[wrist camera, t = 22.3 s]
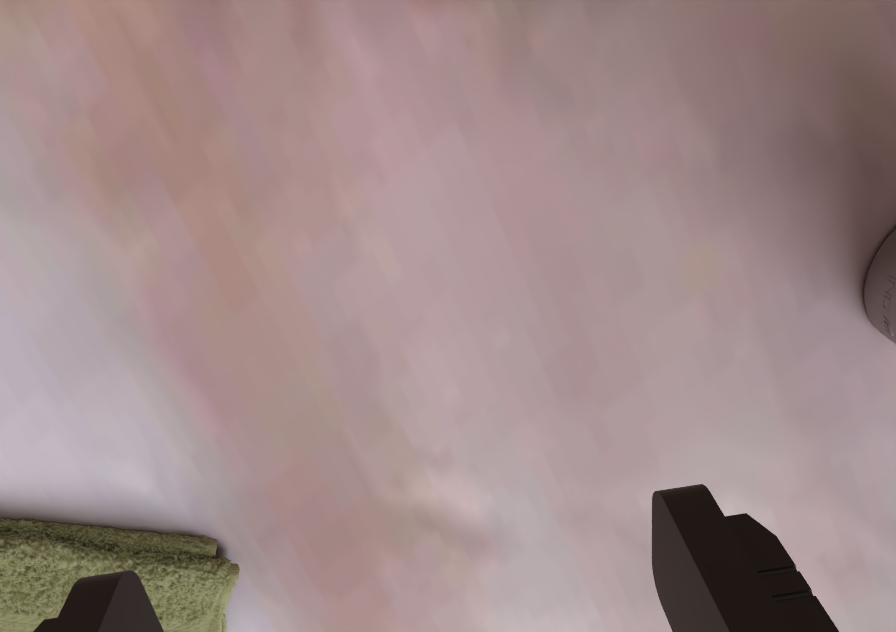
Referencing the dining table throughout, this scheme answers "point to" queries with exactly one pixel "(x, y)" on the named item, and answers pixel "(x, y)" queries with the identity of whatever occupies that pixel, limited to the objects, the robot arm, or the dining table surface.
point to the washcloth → (107, 551)
